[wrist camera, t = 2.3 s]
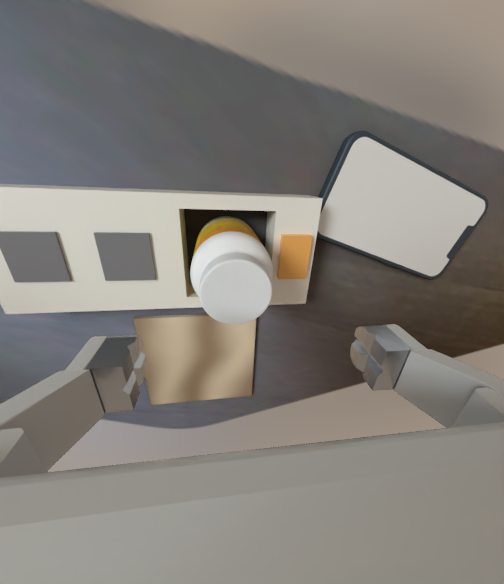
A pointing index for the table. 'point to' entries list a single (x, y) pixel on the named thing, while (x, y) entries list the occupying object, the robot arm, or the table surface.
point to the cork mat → (196, 357)
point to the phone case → (396, 207)
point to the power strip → (132, 246)
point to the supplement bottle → (231, 271)
